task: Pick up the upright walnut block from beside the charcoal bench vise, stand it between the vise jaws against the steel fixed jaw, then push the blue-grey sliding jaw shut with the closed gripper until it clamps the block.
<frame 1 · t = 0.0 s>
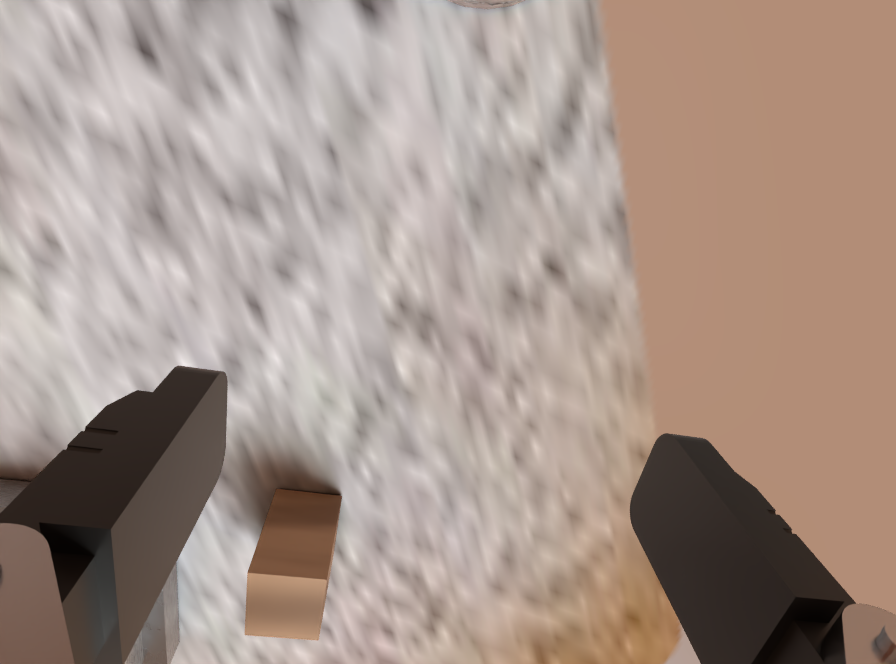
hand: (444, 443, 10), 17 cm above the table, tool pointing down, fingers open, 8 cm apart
walnut block: (306, 521, 33), on the table
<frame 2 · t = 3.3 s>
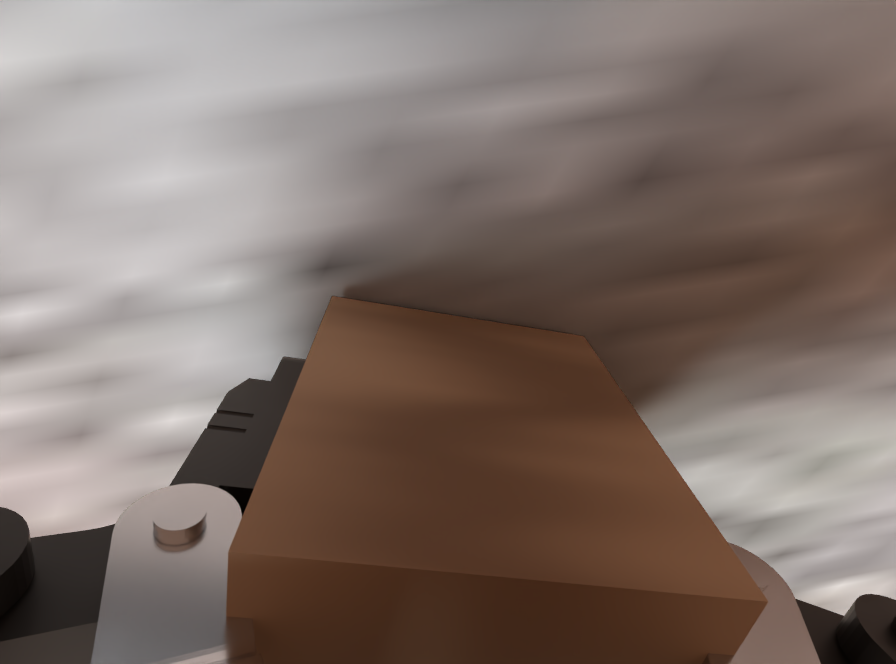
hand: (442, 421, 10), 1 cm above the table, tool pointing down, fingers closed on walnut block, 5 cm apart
walnut block: (442, 403, 11), on the table, touching gripper
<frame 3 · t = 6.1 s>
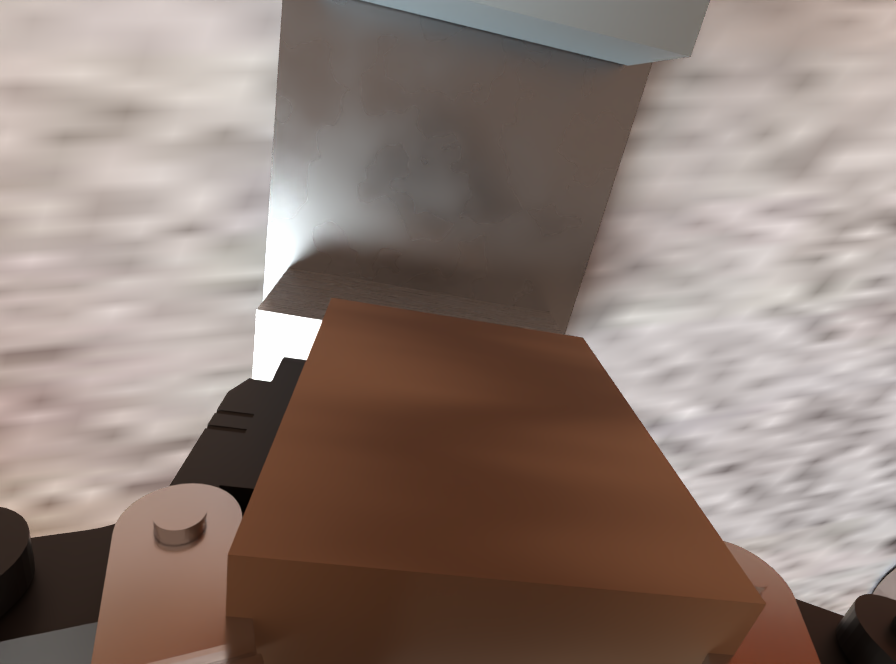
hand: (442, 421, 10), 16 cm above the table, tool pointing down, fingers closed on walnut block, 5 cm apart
walnut block: (441, 404, 11), point 15 cm above the table, touching gripper
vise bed: (459, 88, 22), on the table
when the fingers open (4 cm above the table, at t = 8.8 s): walnut block stays where it is, resting on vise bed.
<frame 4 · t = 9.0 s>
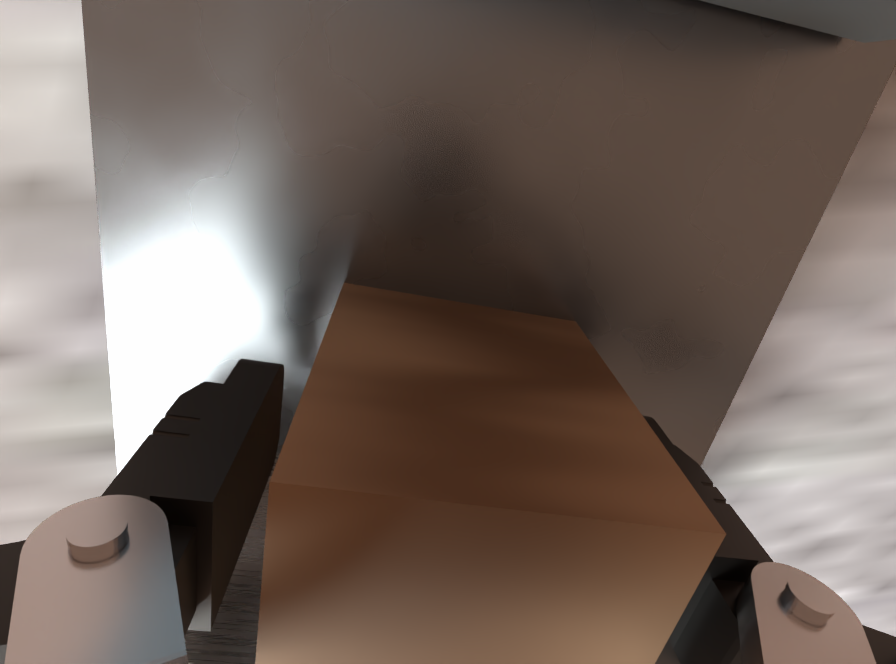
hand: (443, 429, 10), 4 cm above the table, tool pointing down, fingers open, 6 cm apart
walnut block: (444, 384, 12), point 2 cm above the table, touching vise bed
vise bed: (487, 93, 11), on the table
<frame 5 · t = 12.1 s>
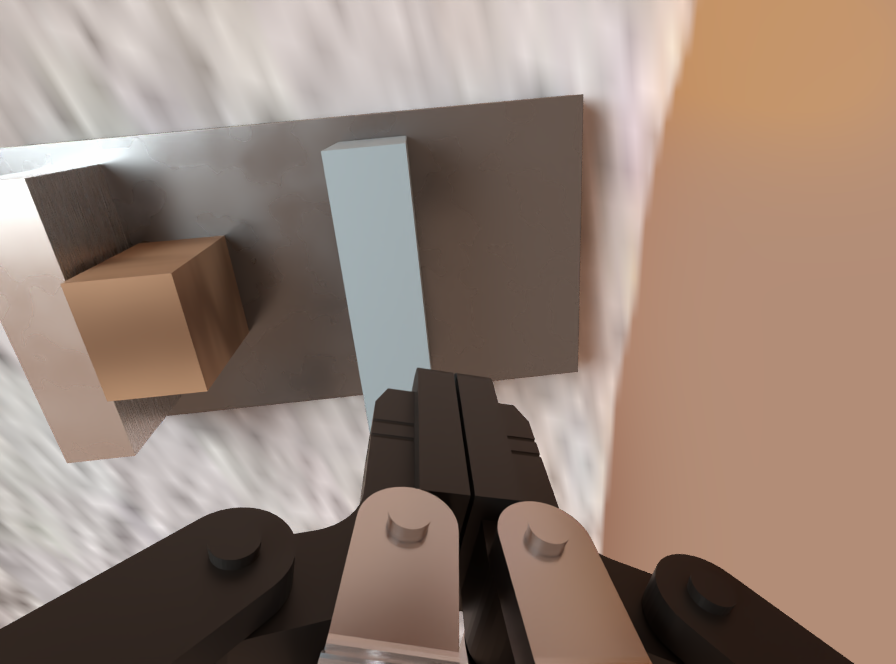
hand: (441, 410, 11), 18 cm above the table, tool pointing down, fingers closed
walnut block: (196, 289, 25), point 2 cm above the table, touching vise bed
vise jaw: (388, 285, 23), point 5 cm above the table, slide at 0.0 cm
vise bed: (325, 263, 27), on the table
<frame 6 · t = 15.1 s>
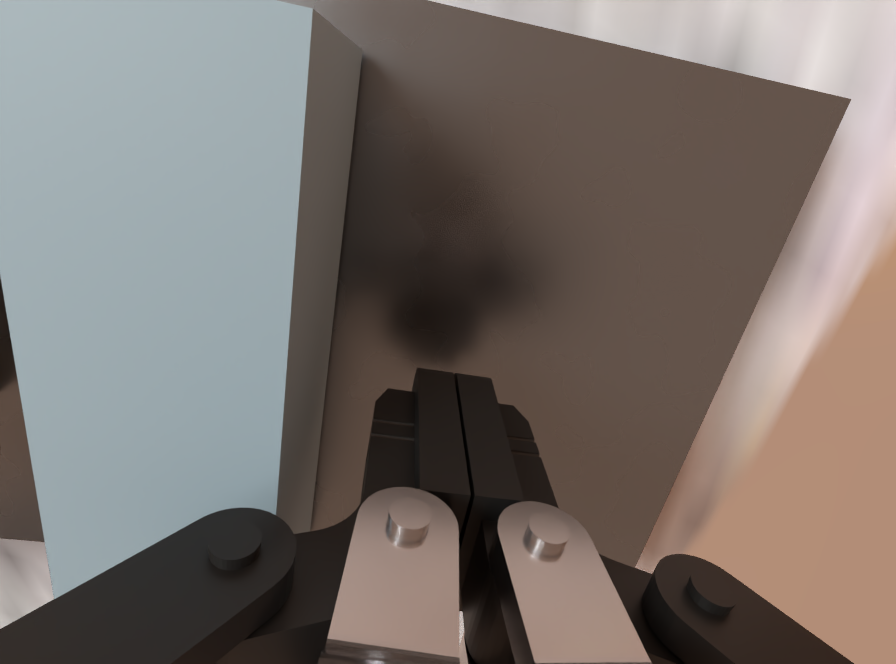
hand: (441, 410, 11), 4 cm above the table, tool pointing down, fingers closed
vise jaw: (222, 401, 9), point 5 cm above the table, slide at 1.5 cm, touching gripper
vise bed: (204, 289, 13), on the table
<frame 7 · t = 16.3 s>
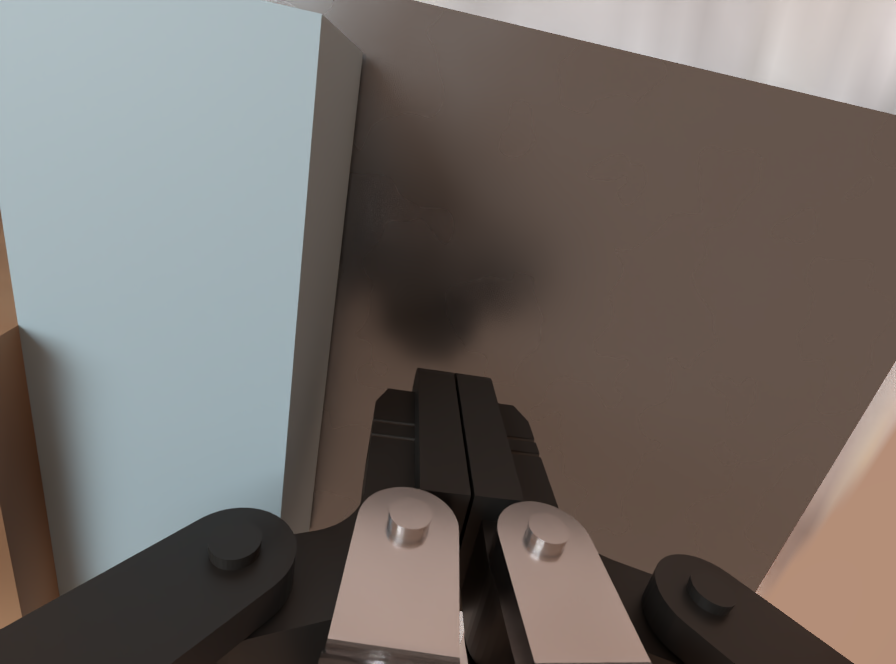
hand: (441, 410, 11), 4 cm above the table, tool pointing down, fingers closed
walnut block: (97, 316, 11), point 2 cm above the table, touching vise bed, vise jaw
vise jaw: (224, 400, 9), point 5 cm above the table, slide at 6.1 cm, touching gripper, walnut block
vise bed: (382, 316, 14), on the table
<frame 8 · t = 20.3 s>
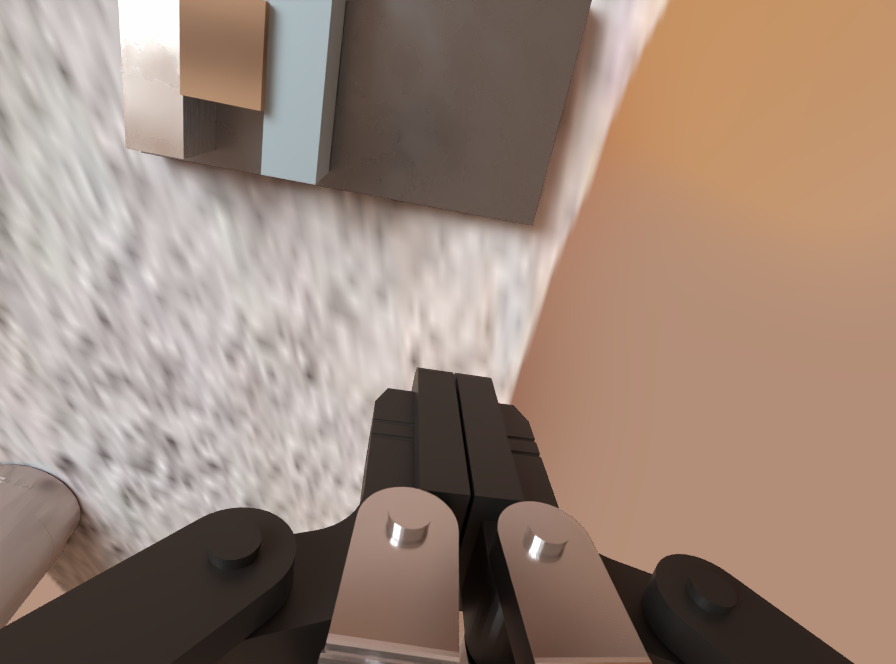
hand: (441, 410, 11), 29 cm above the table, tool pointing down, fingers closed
walnut block: (255, 56, 31), point 2 cm above the table, touching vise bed, vise jaw
vise jaw: (305, 64, 29), point 5 cm above the table, slide at 6.2 cm, touching walnut block
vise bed: (362, 77, 34), on the table
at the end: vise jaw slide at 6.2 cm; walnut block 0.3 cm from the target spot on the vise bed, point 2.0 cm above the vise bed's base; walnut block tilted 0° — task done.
